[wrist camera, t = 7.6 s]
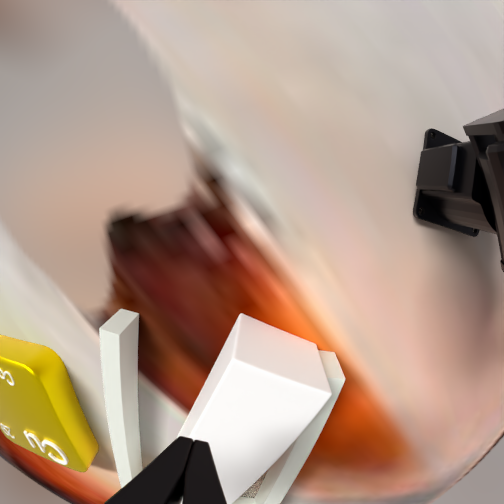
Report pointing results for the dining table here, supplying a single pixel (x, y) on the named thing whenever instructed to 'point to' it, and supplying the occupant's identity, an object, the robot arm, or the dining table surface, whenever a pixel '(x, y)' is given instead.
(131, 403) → the u rest
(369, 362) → the dining table surface
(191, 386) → the dining table surface
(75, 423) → the element tile
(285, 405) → the milk
